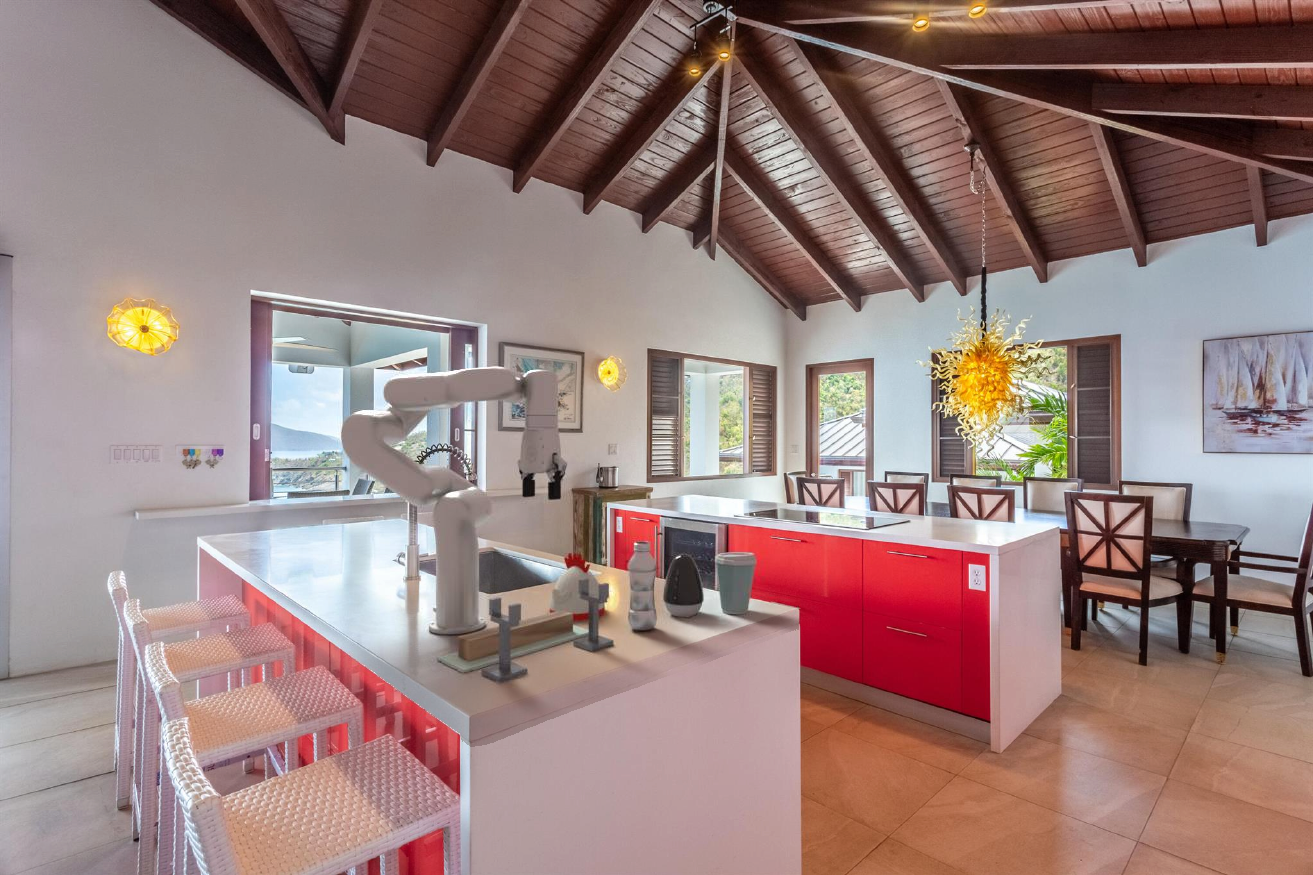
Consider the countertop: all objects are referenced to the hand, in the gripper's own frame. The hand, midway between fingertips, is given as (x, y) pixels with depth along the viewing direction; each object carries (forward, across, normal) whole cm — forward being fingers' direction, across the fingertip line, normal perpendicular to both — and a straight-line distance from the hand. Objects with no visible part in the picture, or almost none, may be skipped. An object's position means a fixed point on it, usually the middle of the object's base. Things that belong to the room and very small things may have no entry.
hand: (541, 498), depth 141 cm
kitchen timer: (+31, -5, +15) cm, 34 cm away
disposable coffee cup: (+31, +24, +43) cm, 58 cm away
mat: (+30, +6, -10) cm, 32 cm away
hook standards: (+30, +17, -10) cm, 36 cm away
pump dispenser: (+31, +16, +32) cm, 47 cm away
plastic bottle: (+31, +17, +16) cm, 38 cm away
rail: (+30, +6, -10) cm, 32 cm away
